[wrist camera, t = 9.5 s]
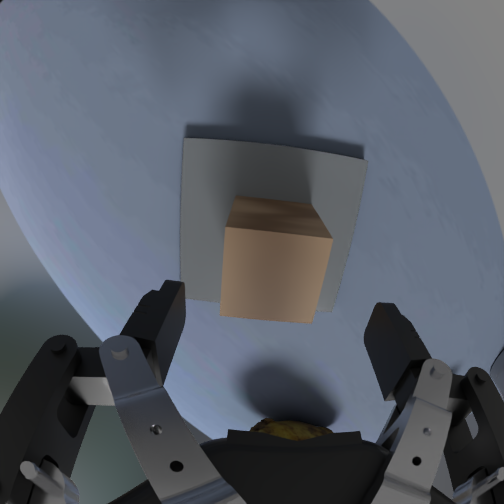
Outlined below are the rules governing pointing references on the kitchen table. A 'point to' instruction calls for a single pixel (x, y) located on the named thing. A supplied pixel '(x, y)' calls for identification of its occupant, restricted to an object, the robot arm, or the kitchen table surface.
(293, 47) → the kitchen table surface
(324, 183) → the coaster
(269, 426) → the potato
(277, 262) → the block
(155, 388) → the robot arm
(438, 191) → the kitchen table surface
